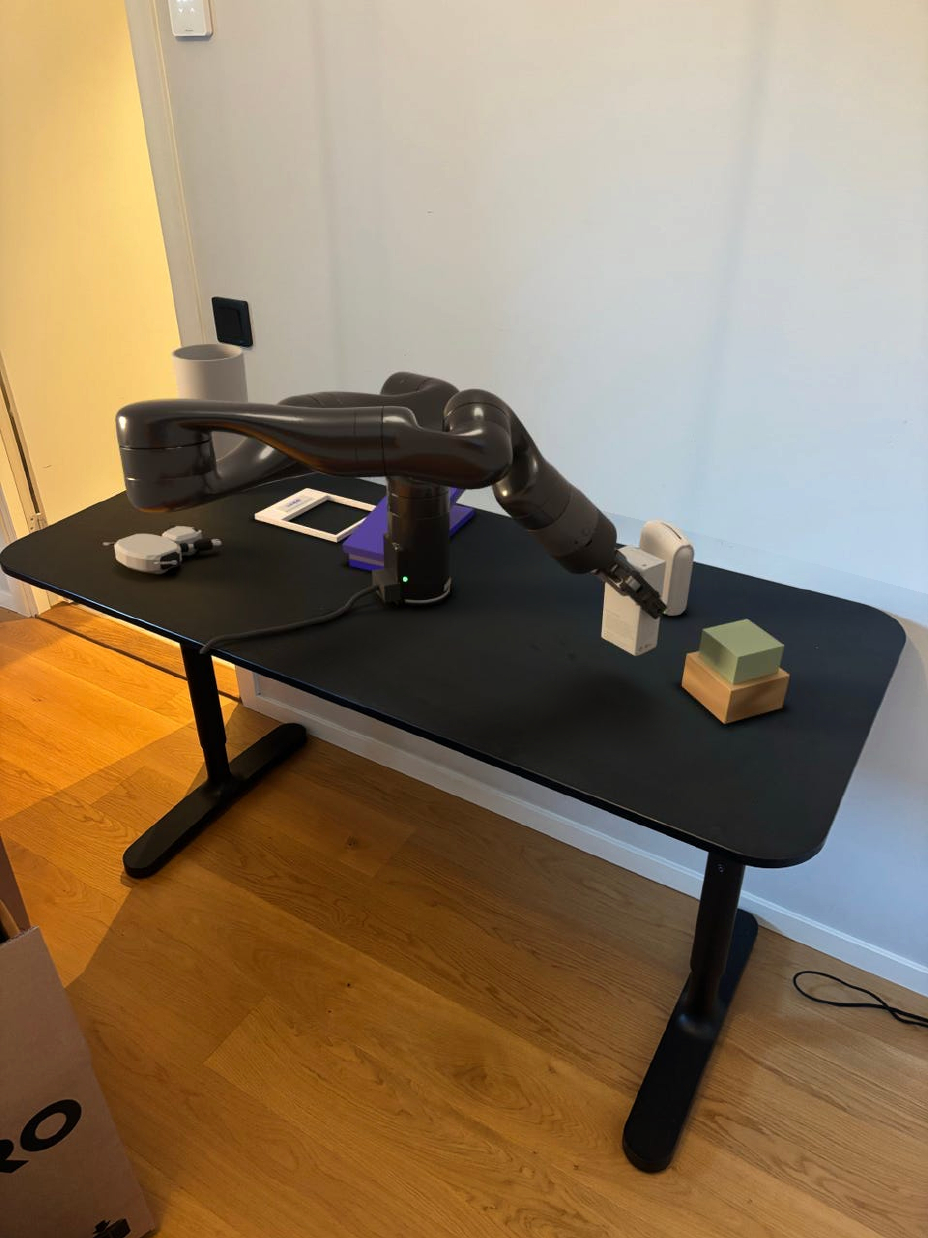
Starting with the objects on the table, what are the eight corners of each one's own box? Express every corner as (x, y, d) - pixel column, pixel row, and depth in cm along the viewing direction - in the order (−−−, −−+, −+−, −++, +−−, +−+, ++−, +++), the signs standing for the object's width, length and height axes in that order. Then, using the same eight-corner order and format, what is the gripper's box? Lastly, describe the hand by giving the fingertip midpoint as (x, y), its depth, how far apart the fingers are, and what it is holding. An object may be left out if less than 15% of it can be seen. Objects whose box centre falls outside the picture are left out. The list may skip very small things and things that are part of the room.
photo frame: (306, 487, 172) (385, 507, 164) (307, 492, 172) (385, 513, 165) (254, 513, 161) (336, 536, 153) (255, 519, 161) (336, 542, 154)
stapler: (476, 515, 165) (478, 464, 160) (405, 580, 142) (405, 523, 138) (419, 504, 169) (419, 454, 164) (342, 566, 146) (339, 509, 141)
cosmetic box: (657, 647, 114) (671, 560, 108) (634, 658, 111) (646, 570, 105) (620, 627, 118) (631, 542, 112) (597, 638, 115) (606, 552, 109)
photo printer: (629, 587, 142) (639, 514, 136) (653, 583, 143) (664, 511, 137) (664, 619, 134) (675, 543, 127) (689, 614, 135) (701, 538, 129)
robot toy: (176, 540, 155) (102, 566, 144) (174, 515, 153) (98, 540, 142) (227, 558, 150) (154, 587, 138) (226, 533, 148) (152, 560, 136)
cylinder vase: (224, 499, 169) (208, 364, 157) (176, 485, 175) (156, 353, 162) (269, 478, 179) (257, 349, 166) (222, 465, 184) (207, 340, 171)
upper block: (732, 684, 110) (738, 656, 108) (697, 655, 116) (702, 628, 114) (778, 672, 113) (784, 645, 111) (742, 645, 118) (747, 618, 116)
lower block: (724, 724, 111) (731, 690, 109) (681, 685, 119) (686, 653, 116) (782, 708, 115) (790, 675, 112) (736, 671, 122) (743, 639, 119)
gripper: (516, 526, 108) (592, 595, 118) (577, 578, 97) (655, 650, 107) (559, 478, 107) (632, 552, 117) (625, 525, 96) (699, 602, 106)
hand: (643, 598), depth 112 cm, fingers closed on cosmetic box, 6 cm apart
